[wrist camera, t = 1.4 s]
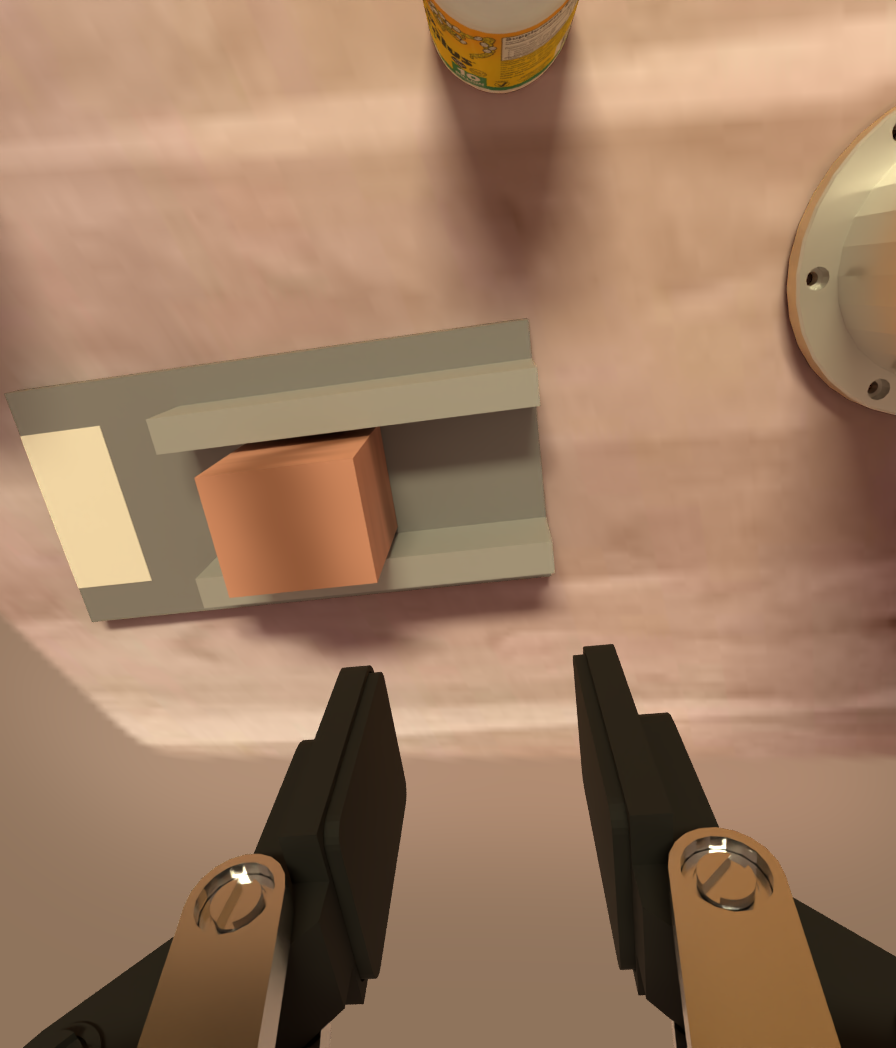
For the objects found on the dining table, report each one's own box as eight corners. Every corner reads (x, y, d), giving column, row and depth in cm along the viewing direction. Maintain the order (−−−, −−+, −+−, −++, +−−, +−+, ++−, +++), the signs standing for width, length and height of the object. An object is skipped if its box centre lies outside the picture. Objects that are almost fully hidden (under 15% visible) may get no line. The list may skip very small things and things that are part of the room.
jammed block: (379, 423, 28) (352, 458, 23) (397, 526, 30) (377, 582, 24) (251, 439, 29) (194, 477, 23) (276, 540, 31) (229, 597, 25)
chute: (526, 318, 27) (533, 323, 24) (549, 567, 32) (557, 605, 28) (19, 390, 30) (-48, 405, 26) (102, 612, 34) (55, 653, 30)
